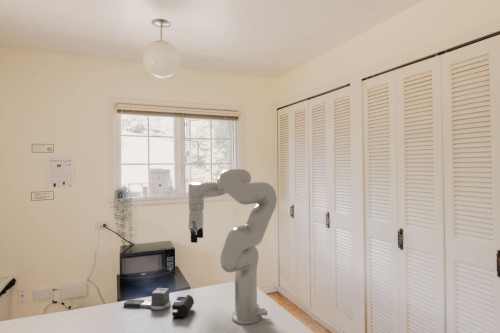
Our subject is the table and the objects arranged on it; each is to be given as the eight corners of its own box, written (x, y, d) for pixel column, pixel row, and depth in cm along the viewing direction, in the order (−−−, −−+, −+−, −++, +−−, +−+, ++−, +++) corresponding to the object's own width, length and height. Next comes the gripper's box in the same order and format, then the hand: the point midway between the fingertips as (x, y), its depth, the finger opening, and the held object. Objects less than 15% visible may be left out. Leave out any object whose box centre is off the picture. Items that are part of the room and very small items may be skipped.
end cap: (188, 320, 128) (187, 304, 128) (172, 320, 129) (171, 304, 129) (194, 309, 138) (193, 294, 138) (179, 309, 139) (178, 294, 139)
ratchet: (173, 302, 145) (173, 292, 145) (165, 311, 136) (165, 300, 136) (131, 300, 148) (130, 290, 148) (120, 309, 139) (120, 298, 139)
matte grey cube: (157, 300, 144) (157, 287, 144) (169, 300, 144) (169, 288, 144) (151, 305, 139) (151, 293, 139) (164, 306, 138) (163, 293, 138)
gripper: (194, 204, 162) (195, 235, 162) (183, 209, 145) (184, 244, 145) (208, 204, 161) (208, 236, 161) (198, 209, 144) (199, 244, 144)
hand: (197, 239), depth 153 cm, fingers open, 9 cm apart
